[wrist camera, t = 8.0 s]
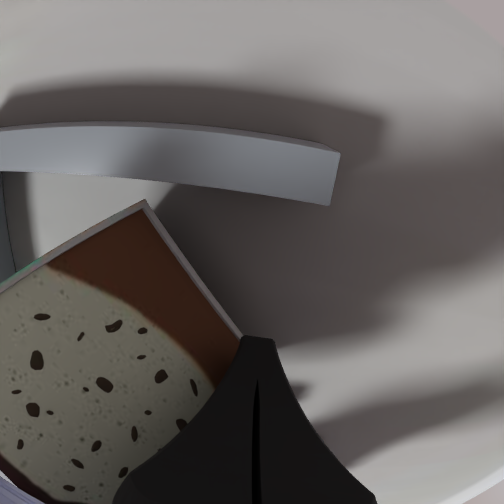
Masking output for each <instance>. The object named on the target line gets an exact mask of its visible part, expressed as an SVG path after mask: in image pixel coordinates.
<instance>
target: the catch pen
mask: <svg viewBox="0 0 504 504" xmlns="http://www.w3.org/2000/svg"><path fill="white" fill-rule="evenodd" d="M340 154H341V153H339V152H337V151H335V150H334V149H332V148H330V147H328V146H326V145H324V144H322V143H317V142H312V141H307V140H302V139H296V138H291V137H285V136H279V135H273V134H266V133H260V132H253V131H245V130H238V129H230V128H221V127H211V126H201V125H190V124H176V123H160V122H135V121H79V122H56V123H41V124H29V125H18V126H9V127H1V128H0V283H2V282H3V281H5V280H6V279H8V278H9V277H11V276H12V275H14V274H15V273H16V271H15V266H14V262H13V257H12V252H11V246H10V241H9V235H8V229H7V222H6V214H5V206H4V197H3V185H2V171H20V172H47V173H66V174H82V175H96V176H109V177H121V178H132V179H143V180H152V181H162V182H171V183H180V184H188V185H196V186H204V187H212V188H219V189H227V190H234V191H241V192H248V193H254V194H261V195H267V196H274V197H280V198H286V199H292V200H298V201H303V202H309V203H315V204H320V205H326V206H330V202H331V197H332V193H333V188H334V183H335V179H336V174H337V169H338V164H339V159H340Z"/></svg>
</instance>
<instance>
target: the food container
mask: <svg viewBox="0 0 504 504" xmlns="http://www.w3.org/2000/svg"><path fill="white" fill-rule="evenodd" d="M242 336H243V334H242V333H241V332H240V331H239V329H238V328H237V327H236V325H235V324H234V323H233V321H232V320H231V319H230V317H229V316H228V315H227V314H226V312H225V311H224V310H223V308H222V307H221V306H220V304H219V303H218V302H217V300H216V299H215V298H214V296H213V295H212V294H211V292H210V291H209V289H208V288H207V287H206V285H205V284H204V283H203V281H202V280H201V279H200V277H199V276H198V274H197V273H196V272H195V270H194V269H193V268H192V266H191V265H190V263H189V262H188V261H187V259H186V258H185V256H184V255H183V254H182V252H181V251H180V249H179V248H178V246H177V245H176V244H175V242H174V241H173V239H172V238H171V236H170V235H169V234H168V232H167V231H166V229H165V228H164V226H163V225H162V223H161V222H160V220H159V219H158V217H157V216H156V215H155V213H154V212H153V210H152V209H151V207H150V206H149V204H148V203H147V201H146V200H145V199H144V200H142V201H140V202H138V203H136V204H134V205H132V206H130V207H128V208H126V209H124V210H122V211H120V212H118V213H116V214H115V215H113V216H111V217H109V218H107V219H105V220H103V221H102V222H100V223H98V224H96V225H94V226H92V227H91V228H89V229H87V230H85V231H84V232H82V233H80V234H78V235H77V236H75V237H73V238H71V239H70V240H68V241H66V242H65V243H63V244H61V245H60V246H58V247H56V248H55V249H53V250H51V251H50V252H48V253H46V254H45V255H43V256H42V257H40V258H38V259H37V260H35V261H34V262H32V263H30V264H29V265H27V266H26V267H24V268H23V269H21V270H20V271H18V272H17V273H15V274H14V275H12V276H11V277H9V278H8V279H6V280H5V281H3V282H2V283H0V470H1V471H2V472H3V473H4V474H5V475H6V476H7V477H8V478H9V479H10V480H11V481H12V482H13V483H14V484H15V485H16V486H17V487H18V488H19V489H20V490H22V491H24V492H25V493H27V494H29V495H31V496H32V497H34V498H36V499H38V500H39V501H41V502H43V503H45V504H112V501H113V498H114V496H115V494H116V492H117V490H118V488H119V487H120V485H121V483H122V482H123V481H124V479H125V478H126V477H127V475H128V474H129V473H130V472H131V471H132V470H134V469H135V468H137V467H138V466H139V465H141V464H142V463H144V462H145V461H146V460H148V459H149V458H150V457H152V456H153V455H154V454H156V453H157V452H158V451H159V450H160V449H162V448H163V447H164V446H165V445H166V444H167V443H168V442H170V441H171V440H172V439H173V438H174V437H175V436H176V435H177V434H178V433H179V432H180V431H181V430H182V429H183V428H184V427H185V426H186V425H187V424H188V423H189V422H190V421H191V420H192V419H193V418H194V416H195V415H196V414H197V413H198V412H199V411H200V409H201V408H202V407H203V406H204V404H205V403H206V402H207V400H208V399H209V398H210V396H211V395H212V394H213V392H214V391H215V389H216V388H217V386H218V385H219V383H220V382H221V380H222V379H223V377H224V375H225V374H226V372H227V370H228V368H229V366H230V365H231V363H232V361H233V359H234V356H235V354H236V352H237V349H238V347H239V344H240V339H241V337H242Z"/></svg>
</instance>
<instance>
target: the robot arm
mask: <svg viewBox="0 0 504 504" xmlns="http://www.w3.org/2000/svg"><path fill="white" fill-rule="evenodd" d="M0 504H45V503H43V502H41V501H39V500H38V499H36V498H34V497H32V496H31V495H29V494H27V493H25V492H24V491H22V490H20V489H19V488H17V487H15V486H14V485H12V484H11V483H9V482H8V481H6V480H5V479H3V478H2V477H0ZM112 504H377V501H376V498H375V495H374V494H373V493H372V492H370V491H369V490H368V489H367V488H366V487H365V486H363V485H362V484H361V483H360V482H359V481H358V480H357V479H356V478H355V477H354V476H353V475H352V474H351V473H350V472H349V471H348V470H347V469H346V468H345V467H344V466H343V465H342V464H341V463H340V462H339V460H338V459H337V458H336V457H335V456H334V455H333V453H332V452H331V451H330V450H329V448H328V447H327V446H326V445H325V444H324V442H323V440H322V439H321V438H320V437H319V435H318V434H317V433H316V431H315V430H314V428H313V427H312V425H311V424H310V422H309V420H308V419H307V417H306V415H305V414H304V412H303V410H302V408H301V407H300V405H299V403H298V401H297V399H296V397H295V395H294V393H293V391H292V389H291V387H290V384H289V382H288V380H287V377H286V375H285V373H284V370H283V367H282V365H281V362H280V359H279V356H278V353H277V349H276V345H275V342H274V340H273V339H268V338H261V337H254V336H247V335H244V336H242V337H241V339H240V344H239V347H238V349H237V352H236V354H235V356H234V359H233V361H232V363H231V365H230V366H229V368H228V370H227V372H226V374H225V375H224V377H223V379H222V380H221V382H220V383H219V385H218V386H217V388H216V389H215V391H214V392H213V394H212V395H211V396H210V398H209V399H208V400H207V402H206V403H205V404H204V406H203V407H202V408H201V409H200V411H199V412H198V413H197V414H196V415H195V416H194V418H193V419H192V420H191V421H190V422H189V423H188V424H187V425H186V426H185V427H184V428H183V429H182V430H181V431H180V432H179V433H178V434H177V435H176V436H175V437H174V438H173V439H172V440H171V441H170V442H168V443H167V444H166V445H165V446H164V447H163V448H162V449H160V450H159V451H158V452H157V453H156V454H154V455H153V456H152V457H150V458H149V459H148V460H146V461H145V462H144V463H142V464H141V465H139V466H138V467H137V468H135V469H134V470H132V471H131V472H130V473H129V474H128V475H127V477H126V478H125V479H124V481H123V482H122V483H121V485H120V487H119V488H118V490H117V492H116V494H115V496H114V498H113V501H112Z"/></svg>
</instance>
